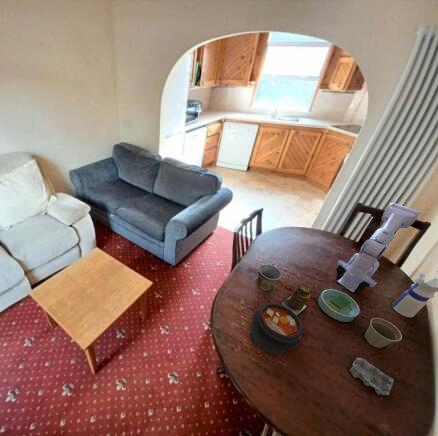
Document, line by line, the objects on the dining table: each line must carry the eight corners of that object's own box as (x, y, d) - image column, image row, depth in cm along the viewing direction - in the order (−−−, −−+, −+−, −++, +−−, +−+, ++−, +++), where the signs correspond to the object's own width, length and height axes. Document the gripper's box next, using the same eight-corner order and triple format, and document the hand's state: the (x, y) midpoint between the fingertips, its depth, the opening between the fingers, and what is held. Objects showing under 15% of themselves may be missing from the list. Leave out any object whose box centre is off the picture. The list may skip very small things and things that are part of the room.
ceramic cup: (272, 297, 113) (278, 283, 107) (251, 286, 118) (256, 273, 112) (278, 280, 122) (285, 266, 116) (258, 271, 127) (264, 257, 121)
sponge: (335, 300, 110) (340, 294, 108) (345, 308, 107) (350, 302, 104) (326, 306, 108) (330, 300, 106) (336, 314, 105) (340, 308, 102)
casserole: (281, 369, 87) (289, 358, 82) (238, 331, 99) (242, 320, 94) (310, 329, 100) (318, 317, 95) (269, 299, 112) (274, 288, 107)
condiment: (306, 306, 109) (317, 290, 102) (296, 315, 105) (306, 299, 98) (291, 295, 114) (300, 279, 107) (281, 304, 110) (289, 287, 103)
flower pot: (391, 357, 90) (405, 345, 85) (361, 345, 94) (372, 333, 89) (385, 336, 97) (398, 324, 92) (357, 325, 101) (368, 314, 96)
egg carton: (346, 372, 86) (352, 367, 84) (354, 359, 90) (359, 353, 88) (383, 400, 79) (390, 395, 77) (390, 384, 83) (396, 379, 81)
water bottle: (389, 298, 112) (423, 260, 98) (413, 307, 108) (453, 269, 94) (390, 310, 107) (428, 273, 92) (416, 320, 102) (459, 283, 88)
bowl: (330, 291, 116) (334, 285, 113) (361, 315, 105) (367, 309, 102) (310, 301, 111) (314, 295, 108) (341, 327, 100) (346, 321, 98)
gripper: (338, 256, 103) (325, 277, 111) (376, 279, 92) (358, 301, 100) (348, 251, 105) (334, 272, 113) (386, 274, 95) (368, 295, 102)
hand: (346, 285), depth 107 cm, fingers open, 7 cm apart
